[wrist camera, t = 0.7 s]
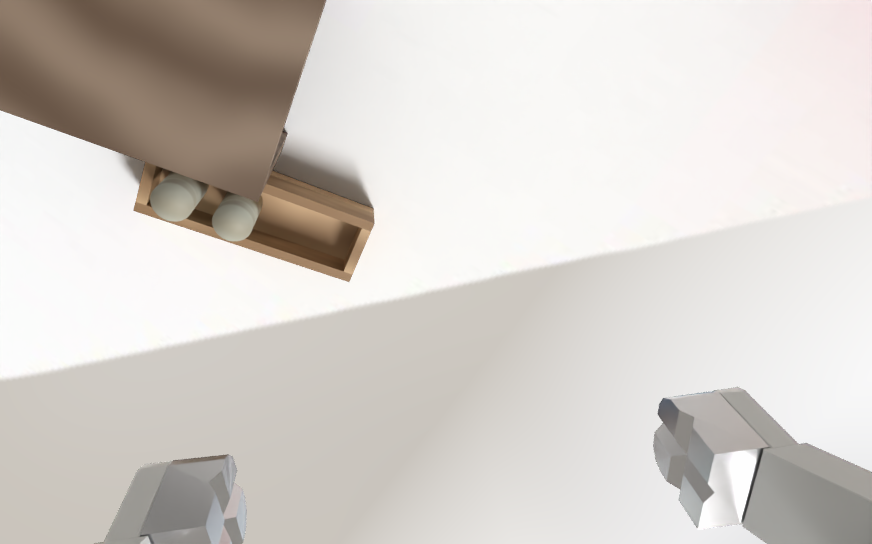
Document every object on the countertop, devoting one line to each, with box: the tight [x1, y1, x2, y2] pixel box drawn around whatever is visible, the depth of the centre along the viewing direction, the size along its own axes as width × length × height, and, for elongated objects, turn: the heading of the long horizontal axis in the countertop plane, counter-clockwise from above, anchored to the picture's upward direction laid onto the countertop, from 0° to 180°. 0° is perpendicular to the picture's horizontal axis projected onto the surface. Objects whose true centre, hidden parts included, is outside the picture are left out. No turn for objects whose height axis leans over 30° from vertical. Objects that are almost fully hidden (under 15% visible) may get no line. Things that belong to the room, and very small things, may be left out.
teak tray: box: [134, 162, 374, 282], centre depth 46 cm, size 6×18×6 cm, turn 65°
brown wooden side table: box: [0, 0, 326, 202], centre depth 36 cm, size 15×16×12 cm
